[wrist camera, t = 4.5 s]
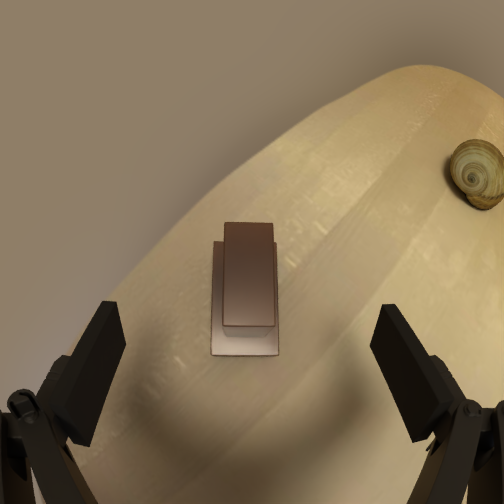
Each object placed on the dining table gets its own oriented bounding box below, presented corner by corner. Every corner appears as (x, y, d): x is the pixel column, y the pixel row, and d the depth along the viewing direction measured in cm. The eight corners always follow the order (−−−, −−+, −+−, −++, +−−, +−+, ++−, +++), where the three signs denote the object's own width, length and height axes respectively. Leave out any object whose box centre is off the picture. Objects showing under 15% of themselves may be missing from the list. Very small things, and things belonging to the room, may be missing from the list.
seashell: (462, 182, 35) (461, 124, 30) (510, 193, 30) (513, 132, 25) (442, 217, 30) (441, 148, 26) (500, 232, 25) (507, 160, 21)
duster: (274, 356, 23) (295, 351, 15) (213, 356, 23) (201, 351, 15) (272, 253, 26) (289, 202, 18) (215, 253, 25) (207, 200, 17)
